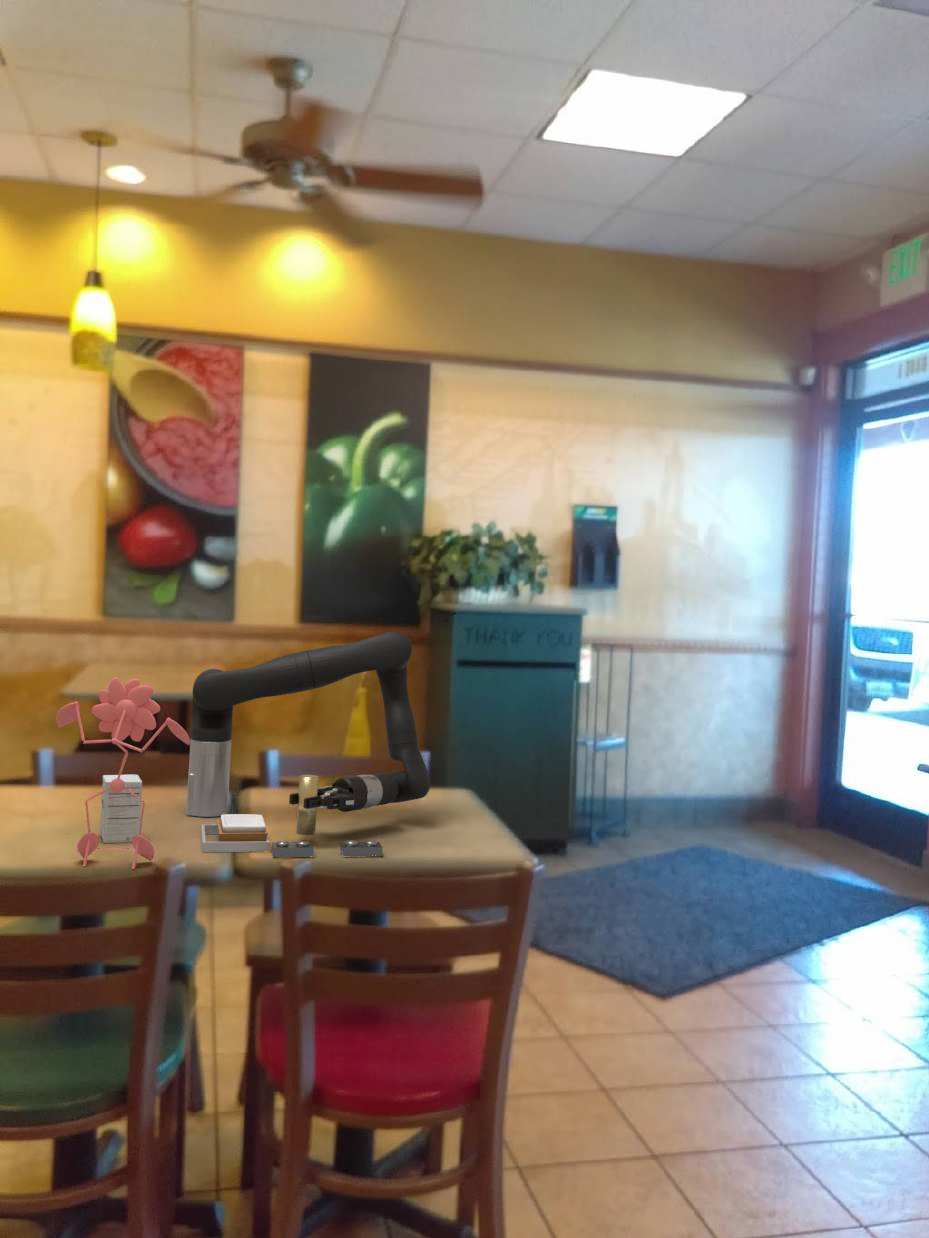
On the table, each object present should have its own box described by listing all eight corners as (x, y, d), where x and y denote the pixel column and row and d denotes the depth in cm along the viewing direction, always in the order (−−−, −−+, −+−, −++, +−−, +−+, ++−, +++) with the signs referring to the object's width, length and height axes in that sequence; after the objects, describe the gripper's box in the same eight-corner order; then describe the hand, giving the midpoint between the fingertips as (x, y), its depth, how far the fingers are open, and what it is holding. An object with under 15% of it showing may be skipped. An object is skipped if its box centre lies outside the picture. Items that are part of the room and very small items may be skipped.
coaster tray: (202, 852, 212) (202, 842, 212) (201, 833, 227) (201, 824, 227) (269, 851, 215) (269, 842, 215) (263, 833, 230) (264, 824, 230)
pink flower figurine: (177, 873, 196) (187, 684, 196) (37, 866, 196) (46, 676, 196) (197, 853, 212) (206, 678, 211) (67, 847, 211) (75, 671, 211)
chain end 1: (272, 857, 211) (273, 844, 211) (271, 852, 215) (271, 839, 215) (313, 857, 213) (313, 844, 213) (310, 851, 217) (311, 839, 217)
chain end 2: (342, 857, 215) (343, 844, 215) (339, 851, 219) (340, 838, 219) (382, 856, 217) (382, 844, 217) (378, 851, 221) (378, 838, 221)
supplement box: (99, 834, 221) (102, 774, 221) (136, 833, 224) (139, 773, 223) (102, 843, 214) (105, 781, 214) (140, 842, 217) (143, 780, 217)
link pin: (297, 835, 221) (300, 778, 221) (295, 830, 225) (298, 774, 225) (316, 835, 222) (319, 778, 222) (314, 830, 226) (317, 774, 226)
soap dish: (267, 851, 217) (268, 826, 217) (218, 851, 214) (219, 826, 214) (263, 836, 229) (264, 812, 229) (216, 836, 226) (217, 812, 226)
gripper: (336, 770, 239) (276, 777, 226) (381, 781, 230) (321, 789, 217) (334, 803, 239) (274, 812, 226) (378, 815, 230) (319, 826, 217)
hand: (298, 801), depth 221 cm, fingers closed on link pin, 4 cm apart
